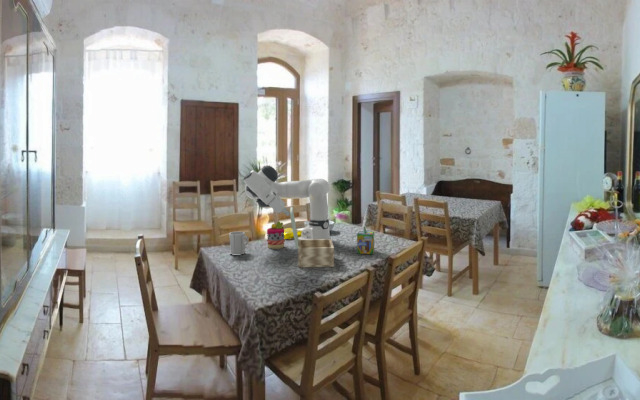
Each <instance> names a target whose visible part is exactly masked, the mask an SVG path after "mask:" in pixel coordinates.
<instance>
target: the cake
mask: <svg viewBox="0 0 640 400" xmlns="http://www.w3.org/2000/svg"><path fill="white" fill-rule="evenodd" d="M283 225H284V222H281V221H277V222H276V223H272V224H271V227H269V228H267V230H266V234H267V236H266V237H267V239H266V242H267V248H268V249H270V248H272V249H271V250H279V249H280V248H281V249H283V247H284V248H285V242H286V240H285V239H284V229H285V228H284V226H283Z"/></svg>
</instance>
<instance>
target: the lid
mask: <svg viewBox="0 0 640 400" xmlns="http://www.w3.org/2000/svg"><path fill="white" fill-rule="evenodd" d="M289 212H290V215H289V217H290V218H289V219H290V222H291V223H290V224H291V228H292V229H293V235H294V246H295V249H298V235H297V230H298V229H297V225H296V218H295V214H294V207H293V206H290V209H289Z"/></svg>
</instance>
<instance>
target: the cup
mask: <svg viewBox="0 0 640 400" xmlns="http://www.w3.org/2000/svg"><path fill="white" fill-rule="evenodd" d="M228 236H229V245H230V247H229V248H230V250H229V254H230V253H232V254H244V253H245V252H246V249H245V248H246V247H245V246H247V245H248V243H249V236H246V232H244V231H231V232H229V233H228ZM245 254H246V253H245ZM245 254H244V255H245Z"/></svg>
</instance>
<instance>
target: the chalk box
mask: <svg viewBox="0 0 640 400" xmlns="http://www.w3.org/2000/svg"><path fill="white" fill-rule="evenodd" d="M356 237H357V238H356V242H357V243H356V248H357V250H356V252H357V255H374V252H375V231H370V230H369V231H367V230H366V226H365V225H364V226H363V231H361V230H360V231H358V232H357V234H356Z"/></svg>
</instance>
